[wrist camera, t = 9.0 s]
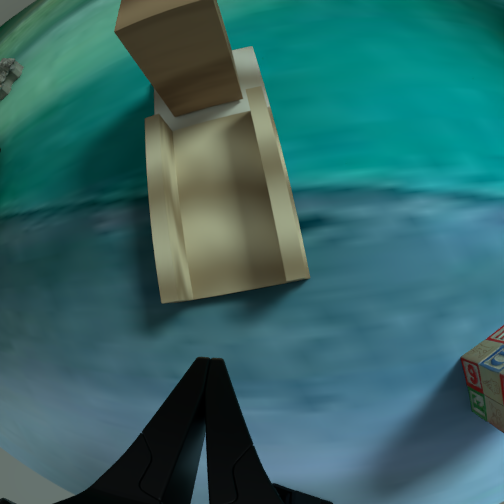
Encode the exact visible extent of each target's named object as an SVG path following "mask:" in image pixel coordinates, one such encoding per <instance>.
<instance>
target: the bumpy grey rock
mask: <svg viewBox="0 0 504 504" xmlns="http://www.w3.org/2000/svg"><path fill="white" fill-rule="evenodd" d="M23 68H24V67H23V66H22V65H20V64H19V63H18V62H15V59H11V58H10V59H6V58H3V59H2V60H1V62H0V88H1V87H2V88H1V89H0V99H1V100H2V99H3V98H4V97H5V96H6V95H8V94H9V92H10V91H11V86H12V84H13V82H14V81H15V80H16V79H17V78H19V77H20V76H21V74H22V70H23ZM6 71H7V73H6Z"/></svg>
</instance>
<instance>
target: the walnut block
mask: <svg viewBox="0 0 504 504" xmlns="http://www.w3.org/2000/svg"><path fill="white" fill-rule="evenodd" d="M114 32H115V34H116V35H117V36H118V38H119V39H120V41H121V42H122V43H123V45H124V46H125V48H126V49H127V50H128V52H129V53H130V55H131V56H132V57H133V59H134V60H135V62H136V63H137V64H138V66H139V67H140V69H141V70H142V71H143V73H144V74H145V76H146V77H147V79H148V80H149V81H150V83H151V84H152V86H153V87H154V88H155V90H156V91H157V93H158V94H159V96H160V97H161V98H162V100H163V101H164V103H165V104H166V106H167V107H168V108H169V110H170V111H171V113H172V114H173V116H174V117H177V116H180V115H184V114H187V113H190V112H194V111H197V110H201V109H205V108H208V107H212V106H216V105H220V104H224V103H228V102H232V101H236V100H240V99H243V96H242V92H241V87H240V83H239V79H238V74H237V70H236V66H235V62H234V57H233V53H232V50H231V46H230V43H229V40H228V36H227V33H226V30H225V26H224V23H223V20H222V16H221V13H220V10H219V6H218V3H217V0H121V4H120V8H119V13H118V17H117V21H116V26H115V31H114Z"/></svg>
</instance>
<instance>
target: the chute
mask: <svg viewBox="0 0 504 504" xmlns="http://www.w3.org/2000/svg"><path fill="white" fill-rule="evenodd" d="M232 53H233V57H234V62H235V66H236V70H237V74H238V79H239V83H240V87H241V92H242V96H243V99H240V100H236V101H232V102H228V103H224V104H220V105H216V106H212V107H208V108H205V109H201V110H197V111H194V112H190V113H187V114H184V115H180V116H177V117H174V116H173V114H172V113H171V111H170V110H169V108H168V107H167V106H166V104H165V103H164V101H163V100H162V98H161V97H160V96H159V94H158V93H157V91H156V90H155V88H154V111H155V115H153V116H150V117H147V118H145V143H146V165H147V182H148V195H149V207H150V218H151V228H152V237H153V246H154V254H155V262H156V269H157V276H158V283H159V290H160V296H161V302H162V303H173V302H174V303H176V302H183V301H190V300H196V299H202V298H207V297H213V296H219V295H225V294H230V293H236V292H241V291H247V290H252V289H258V288H263V287H268V286H274V285H279V284H284V283H289V282H294V281H299V280H304V279H309V278H310V275H309V270H308V265H307V260H306V255H305V250H304V245H303V240H302V236H301V231H300V226H299V222H298V217H297V213H296V208H295V204H294V200H293V195H292V191H291V187H290V182H289V178H288V174H287V170H286V166H285V162H284V158H283V154H282V150H281V146H280V142H279V138H278V134H277V131H276V127H275V123H274V119H273V116H272V112H271V108H270V105H269V101H268V97H267V94H266V90H265V87H264V83H263V80H262V76H261V73H260V70H259V66H258V63H257V60H256V56H255V53H254V50H253V47H252V46H251V47H246V48H241V49H237V50H232Z"/></svg>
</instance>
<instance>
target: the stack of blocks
mask: <svg viewBox="0 0 504 504" xmlns="http://www.w3.org/2000/svg"><path fill="white" fill-rule="evenodd" d="M461 361H462V365H463V370H464V374H465V379H466V383H467V386H468V391H469V397H470V402H471V409H472V412H474V413H475V414H476V415H478V416H479V417H481V418H482V419H484V420H485V421H487V422H489V423H490V424H492V425H493V426H494V427H496V428H497V429H499V430H500V431H502V432H503V433H504V325H503V326H502V327H501V328H500V329H498V330H497V331H496V332H495V333H493V334H492V335H491V336H489V337H488V338H487V339H485V340H484V341H482V342H481V343H480V344H478V345H477V346H475V347H474V348H473V349H471V350H470V351H468V352H467V353H465V354H464V355H462V356H461Z"/></svg>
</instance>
